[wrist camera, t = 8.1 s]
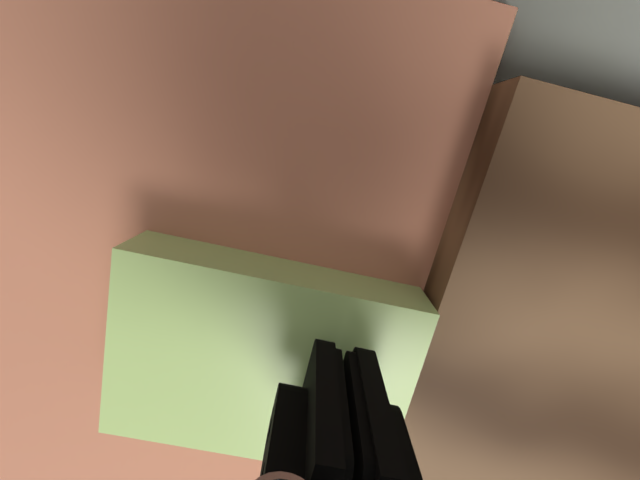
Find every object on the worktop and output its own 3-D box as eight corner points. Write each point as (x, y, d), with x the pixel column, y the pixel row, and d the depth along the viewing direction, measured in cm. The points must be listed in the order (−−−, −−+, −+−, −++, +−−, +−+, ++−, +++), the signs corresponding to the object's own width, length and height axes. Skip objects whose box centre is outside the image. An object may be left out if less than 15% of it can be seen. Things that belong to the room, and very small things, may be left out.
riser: (484, 87, 11) (520, 75, 9) (837, 179, 12) (941, 187, 10) (338, 528, 15) (341, 584, 13) (598, 574, 16) (636, 632, 14)
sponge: (147, 229, 11) (111, 248, 9) (420, 287, 12) (439, 315, 10) (131, 389, 13) (98, 432, 11) (374, 433, 13) (383, 481, 12)
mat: (-77, -149, 9) (-99, -165, 9) (509, 14, 10) (518, 7, 10) (-50, 499, 15) (-62, 511, 14) (327, 562, 16) (327, 575, 15)
